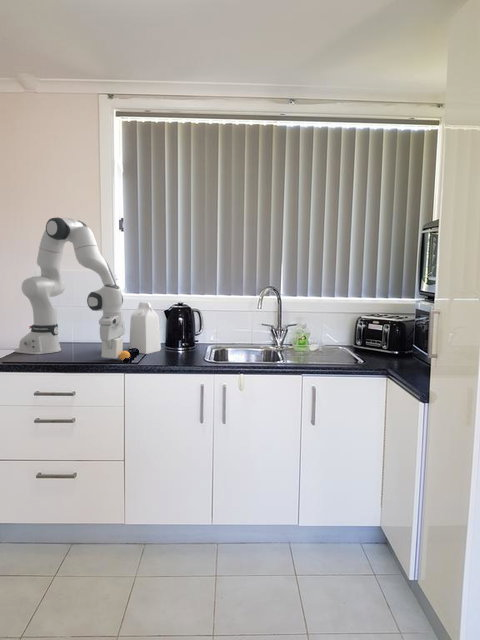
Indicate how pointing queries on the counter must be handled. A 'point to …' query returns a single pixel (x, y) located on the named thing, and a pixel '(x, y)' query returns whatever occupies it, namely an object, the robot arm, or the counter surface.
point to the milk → (145, 329)
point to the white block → (113, 348)
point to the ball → (124, 355)
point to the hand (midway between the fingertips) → (113, 347)
